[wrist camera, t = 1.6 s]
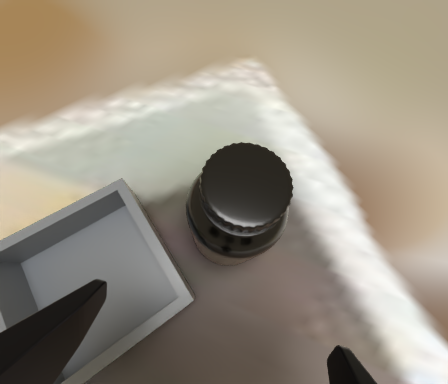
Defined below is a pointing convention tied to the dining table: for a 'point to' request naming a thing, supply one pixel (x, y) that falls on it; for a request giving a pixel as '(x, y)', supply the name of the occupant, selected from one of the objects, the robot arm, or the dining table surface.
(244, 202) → the supplement bottle
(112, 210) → the square tray
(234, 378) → the dining table surface
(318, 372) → the dining table surface
